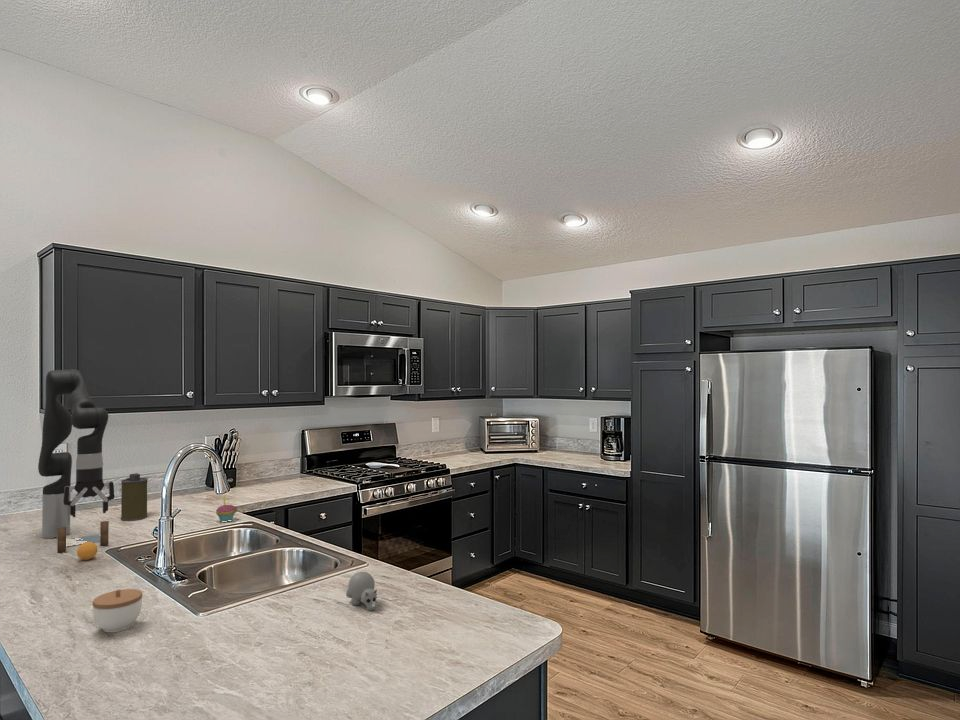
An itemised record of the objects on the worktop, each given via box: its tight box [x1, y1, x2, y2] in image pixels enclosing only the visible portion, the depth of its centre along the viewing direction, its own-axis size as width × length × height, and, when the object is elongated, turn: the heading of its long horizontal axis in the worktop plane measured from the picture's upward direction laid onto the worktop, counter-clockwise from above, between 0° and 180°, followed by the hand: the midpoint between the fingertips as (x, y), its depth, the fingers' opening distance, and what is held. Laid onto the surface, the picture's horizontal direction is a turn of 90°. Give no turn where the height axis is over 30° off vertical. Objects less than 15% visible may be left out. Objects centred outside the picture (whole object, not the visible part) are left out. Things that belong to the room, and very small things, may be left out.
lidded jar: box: [92, 588, 143, 634], centre depth 148 cm, size 11×11×9 cm
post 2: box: [99, 520, 110, 547], centre depth 220 cm, size 3×3×9 cm
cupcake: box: [215, 494, 238, 521], centre depth 257 cm, size 9×8×12 cm
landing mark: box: [71, 533, 100, 544], centre depth 227 cm, size 13×13×1 cm
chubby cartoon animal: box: [345, 571, 378, 612], centre depth 160 cm, size 7×12×8 cm, turn 36°
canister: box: [120, 472, 148, 522], centre depth 264 cm, size 11×10×20 cm
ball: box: [76, 542, 99, 561], centre depth 204 cm, size 6×6×6 cm
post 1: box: [56, 527, 67, 554], centre depth 212 cm, size 3×3×9 cm
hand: (89, 514), depth 197 cm, fingers open, 8 cm apart
